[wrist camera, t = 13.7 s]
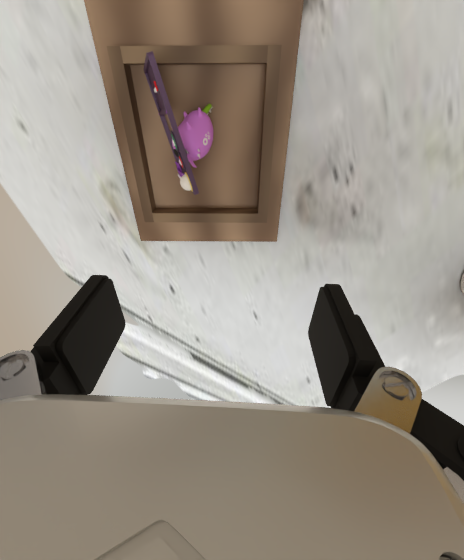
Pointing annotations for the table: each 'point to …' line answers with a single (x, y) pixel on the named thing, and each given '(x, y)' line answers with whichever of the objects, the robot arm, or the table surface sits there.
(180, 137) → the purple figure with panel
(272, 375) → the table surface
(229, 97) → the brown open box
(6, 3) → the table surface
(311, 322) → the robot arm
